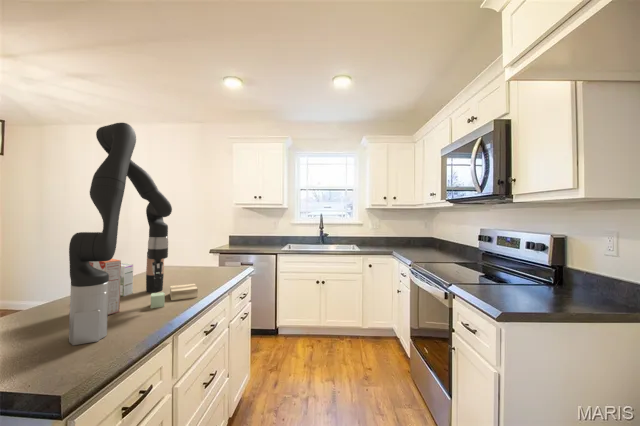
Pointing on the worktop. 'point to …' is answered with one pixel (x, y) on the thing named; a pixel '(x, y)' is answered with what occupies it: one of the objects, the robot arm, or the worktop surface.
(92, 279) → the robot arm
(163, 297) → the cube
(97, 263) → the cracker box
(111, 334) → the worktop surface
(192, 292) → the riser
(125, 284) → the syrup box
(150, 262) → the travel mug
